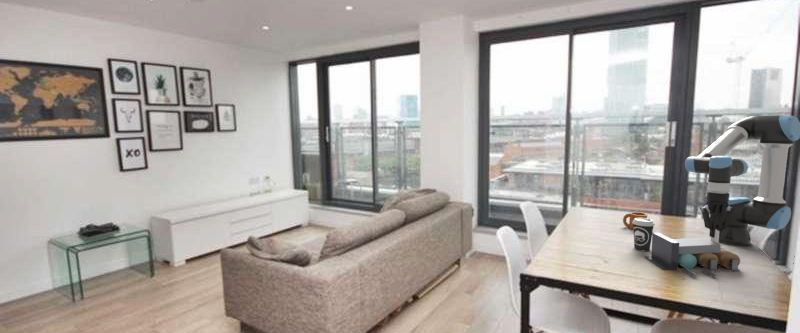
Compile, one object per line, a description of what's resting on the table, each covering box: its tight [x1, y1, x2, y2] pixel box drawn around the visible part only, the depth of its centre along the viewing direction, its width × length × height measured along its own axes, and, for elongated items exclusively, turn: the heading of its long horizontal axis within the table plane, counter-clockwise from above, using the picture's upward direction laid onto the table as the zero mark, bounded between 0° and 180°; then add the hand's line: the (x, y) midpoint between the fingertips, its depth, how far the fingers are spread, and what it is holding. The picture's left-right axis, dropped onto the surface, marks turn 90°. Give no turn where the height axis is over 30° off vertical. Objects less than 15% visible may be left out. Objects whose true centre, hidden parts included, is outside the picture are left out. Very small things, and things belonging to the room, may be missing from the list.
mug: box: [622, 211, 648, 231], centre depth 232 cm, size 9×12×9 cm
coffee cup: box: [632, 217, 656, 252], centre depth 196 cm, size 10×10×15 cm
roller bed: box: [682, 259, 741, 279], centre depth 171 cm, size 23×25×5 cm
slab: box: [672, 237, 722, 254], centre depth 175 cm, size 18×10×4 cm, turn 85°
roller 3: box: [713, 247, 741, 269], centre depth 174 cm, size 14×7×7 cm, turn 175°
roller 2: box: [691, 252, 719, 269], centre depth 175 cm, size 14×7×7 cm, turn 175°
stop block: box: [643, 232, 679, 271], centre depth 176 cm, size 6×15×12 cm, turn 175°
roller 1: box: [678, 254, 698, 270], centre depth 176 cm, size 12×6×6 cm, turn 175°
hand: (714, 244), depth 174 cm, fingers closed
